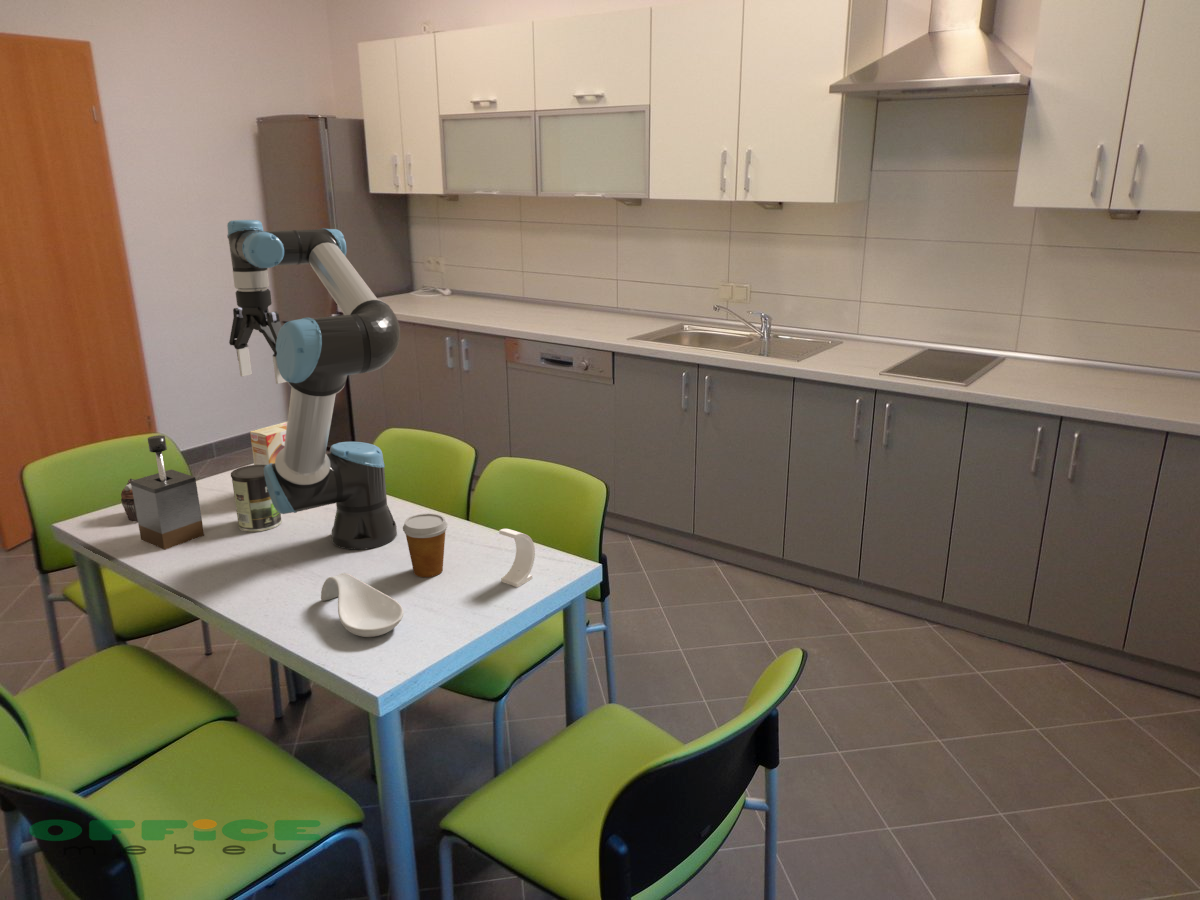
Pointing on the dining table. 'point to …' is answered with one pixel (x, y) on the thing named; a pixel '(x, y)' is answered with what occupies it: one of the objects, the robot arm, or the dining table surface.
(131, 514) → the cupcake
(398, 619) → the spoon rest
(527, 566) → the headphone stand
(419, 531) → the disposable coffee cup
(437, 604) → the dining table surface
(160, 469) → the plunger
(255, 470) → the coffee can
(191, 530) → the grey brown upright block
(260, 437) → the coffeecake box
